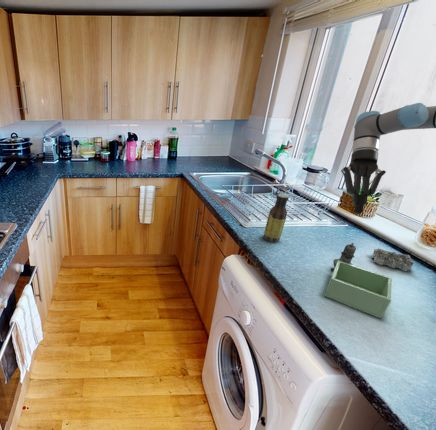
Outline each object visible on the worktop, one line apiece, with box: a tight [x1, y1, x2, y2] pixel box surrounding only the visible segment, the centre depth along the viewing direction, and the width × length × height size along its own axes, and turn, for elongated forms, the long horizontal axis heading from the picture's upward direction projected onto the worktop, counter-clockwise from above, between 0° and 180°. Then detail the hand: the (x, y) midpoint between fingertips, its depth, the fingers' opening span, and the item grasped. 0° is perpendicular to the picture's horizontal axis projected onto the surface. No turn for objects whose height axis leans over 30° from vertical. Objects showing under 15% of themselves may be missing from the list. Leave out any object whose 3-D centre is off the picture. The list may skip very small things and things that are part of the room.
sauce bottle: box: [263, 193, 289, 243], centre depth 117 cm, size 6×6×20 cm
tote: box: [323, 261, 393, 319], centre depth 88 cm, size 14×14×7 cm
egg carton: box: [371, 248, 415, 272], centre depth 105 cm, size 11×8×4 cm
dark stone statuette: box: [330, 242, 357, 273], centre depth 98 cm, size 6×6×12 cm
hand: (358, 212), depth 104 cm, fingers closed
